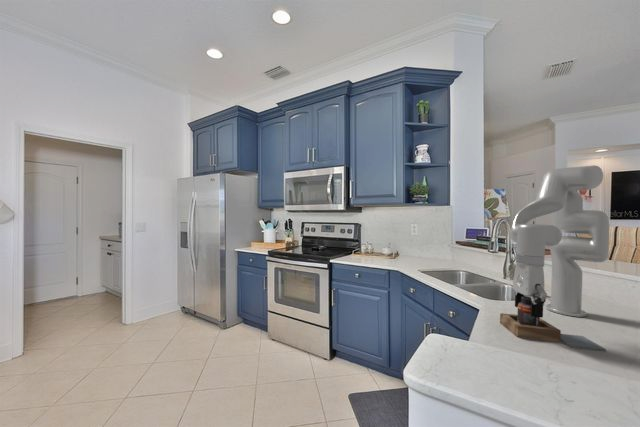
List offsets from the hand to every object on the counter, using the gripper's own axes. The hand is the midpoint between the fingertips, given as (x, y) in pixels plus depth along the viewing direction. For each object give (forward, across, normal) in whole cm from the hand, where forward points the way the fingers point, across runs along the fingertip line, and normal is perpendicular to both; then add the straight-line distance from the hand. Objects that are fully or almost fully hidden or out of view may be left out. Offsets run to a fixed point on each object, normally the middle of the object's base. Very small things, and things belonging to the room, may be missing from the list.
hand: (527, 311), depth 92 cm
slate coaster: (+7, +4, +12) cm, 14 cm away
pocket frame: (+7, 0, 0) cm, 7 cm away
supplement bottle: (+7, 0, 0) cm, 7 cm away
